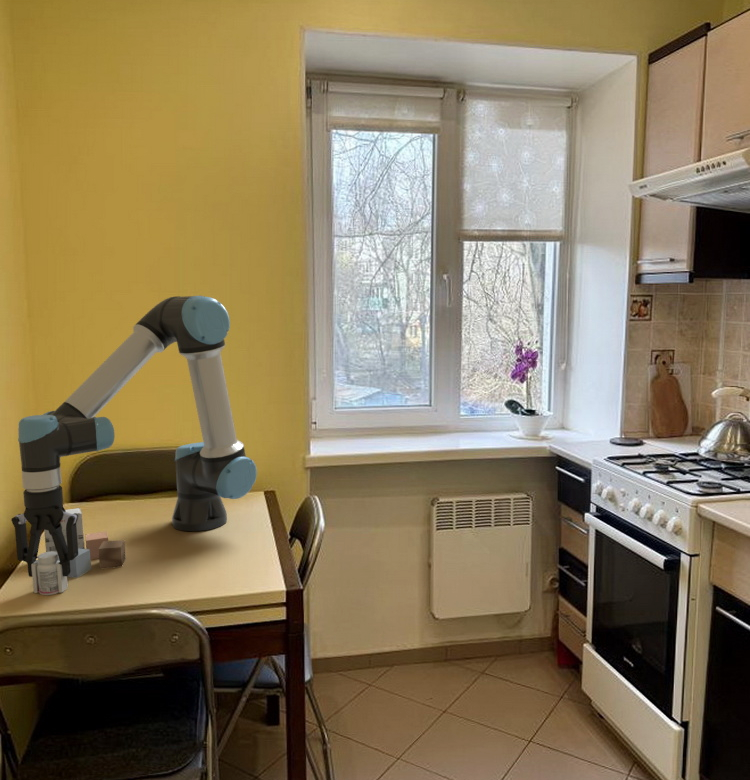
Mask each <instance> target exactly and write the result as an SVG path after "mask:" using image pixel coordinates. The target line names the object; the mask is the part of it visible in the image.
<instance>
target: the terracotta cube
mask: <svg viewBox="0 0 750 780" xmlns="http://www.w3.org/2000/svg"><path fill="white" fill-rule="evenodd" d="M84 538H85V549H89V550H90V559H91V560H95V559H99V547H100V546H101V544H102V542H103V541H109V536H108V531H107V530H105V531H98V532H92V533H85V537H84Z"/></svg>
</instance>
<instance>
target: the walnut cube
mask: <svg viewBox="0 0 750 780" xmlns="http://www.w3.org/2000/svg"><path fill="white" fill-rule="evenodd" d="M126 558H127V557H126V545H125V539H119V540H118V539H117V540H116V539H115V540H108V541H103V542H102V544H101V546H100V547H99V558H98V559H99V569H100V570H101V569H111V568H113V567H115V568H123V566H122V565H124V564H125V561H126ZM123 563H124V564H123ZM113 569H114V568H113Z"/></svg>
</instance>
